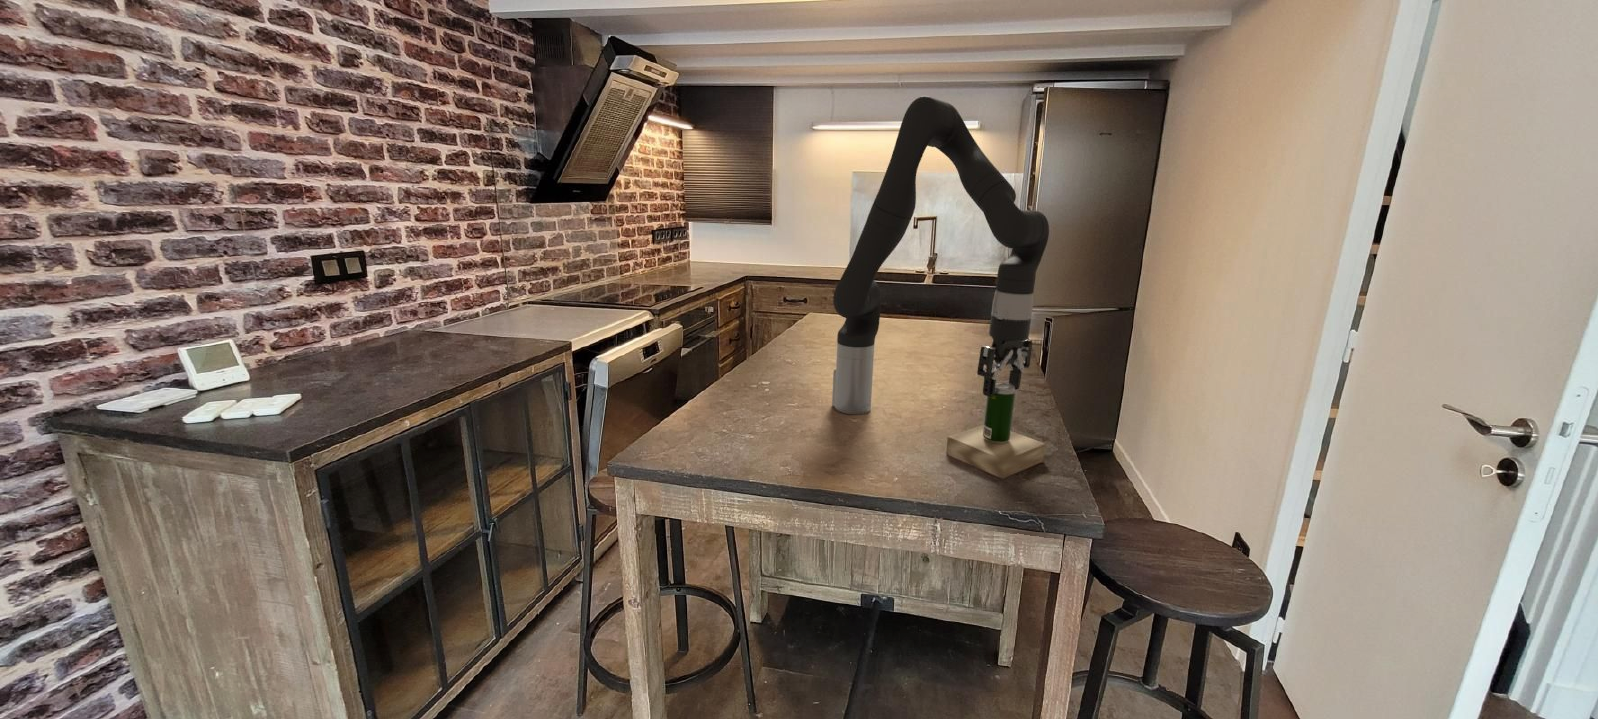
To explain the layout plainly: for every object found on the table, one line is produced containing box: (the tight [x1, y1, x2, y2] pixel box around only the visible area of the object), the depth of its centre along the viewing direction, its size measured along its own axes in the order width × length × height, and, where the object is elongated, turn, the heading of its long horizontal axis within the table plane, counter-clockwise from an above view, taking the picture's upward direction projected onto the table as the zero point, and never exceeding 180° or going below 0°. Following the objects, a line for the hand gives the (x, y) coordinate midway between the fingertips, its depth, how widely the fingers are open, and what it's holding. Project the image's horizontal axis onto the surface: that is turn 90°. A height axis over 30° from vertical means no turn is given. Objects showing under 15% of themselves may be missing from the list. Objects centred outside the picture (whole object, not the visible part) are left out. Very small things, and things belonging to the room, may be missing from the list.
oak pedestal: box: [945, 424, 1046, 479], centre depth 129 cm, size 14×14×4 cm
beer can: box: [983, 381, 1016, 445], centre depth 127 cm, size 5×5×12 cm
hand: (1001, 392), depth 125 cm, fingers open, 8 cm apart
